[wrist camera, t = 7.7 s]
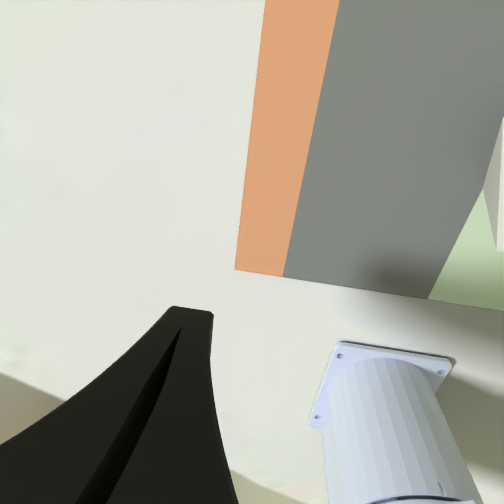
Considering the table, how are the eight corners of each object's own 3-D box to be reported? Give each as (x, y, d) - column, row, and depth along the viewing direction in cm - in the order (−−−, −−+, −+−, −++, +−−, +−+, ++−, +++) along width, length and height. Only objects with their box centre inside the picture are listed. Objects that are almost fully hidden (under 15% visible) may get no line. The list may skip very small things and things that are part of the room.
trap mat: (637, 329, 20) (640, 332, 20) (234, 268, 20) (234, 269, 20) (949, 9, 12) (958, 8, 12) (275, -83, 12) (275, -85, 12)
